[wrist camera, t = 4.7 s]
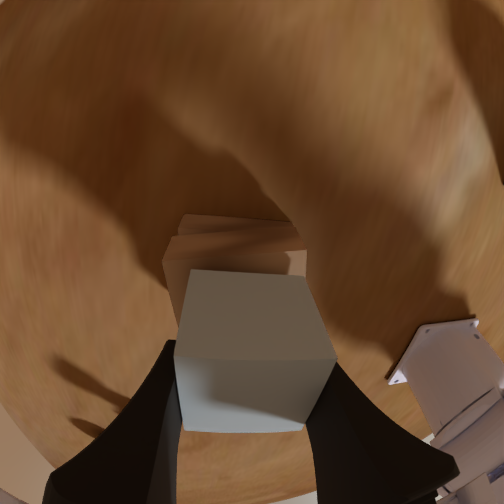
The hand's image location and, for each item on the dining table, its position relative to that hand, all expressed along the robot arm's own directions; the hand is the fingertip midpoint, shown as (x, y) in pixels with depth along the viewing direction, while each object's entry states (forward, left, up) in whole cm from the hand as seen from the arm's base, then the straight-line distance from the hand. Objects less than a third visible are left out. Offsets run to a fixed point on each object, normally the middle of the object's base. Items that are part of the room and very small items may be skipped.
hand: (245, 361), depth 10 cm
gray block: (0, 0, -2) cm, 2 cm away
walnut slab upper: (0, 0, -5) cm, 5 cm away
